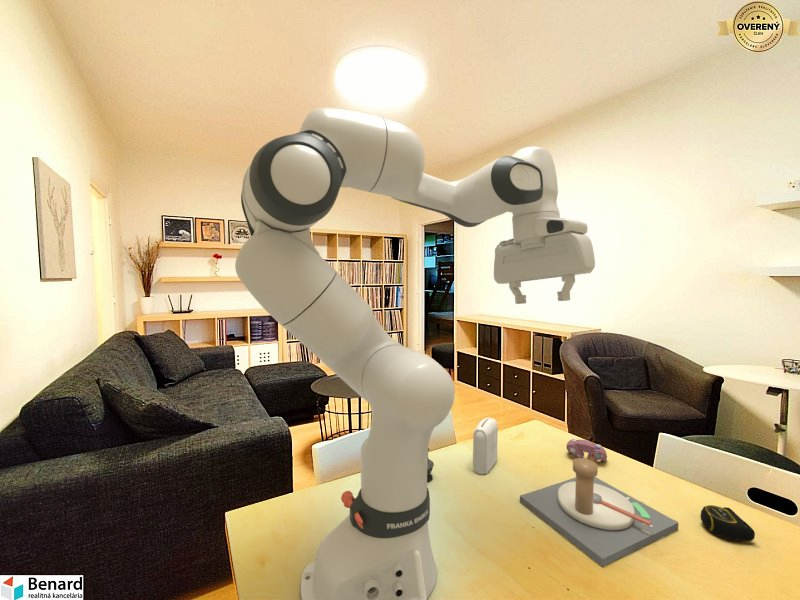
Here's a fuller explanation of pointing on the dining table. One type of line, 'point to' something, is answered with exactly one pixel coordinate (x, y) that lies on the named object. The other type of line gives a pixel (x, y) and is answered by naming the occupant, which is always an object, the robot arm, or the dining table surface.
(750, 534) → the tape measure
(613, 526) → the tuning dial
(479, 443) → the photo printer
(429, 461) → the dark grey chess piece
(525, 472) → the dining table surface
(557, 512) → the dial board
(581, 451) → the pink toy car
